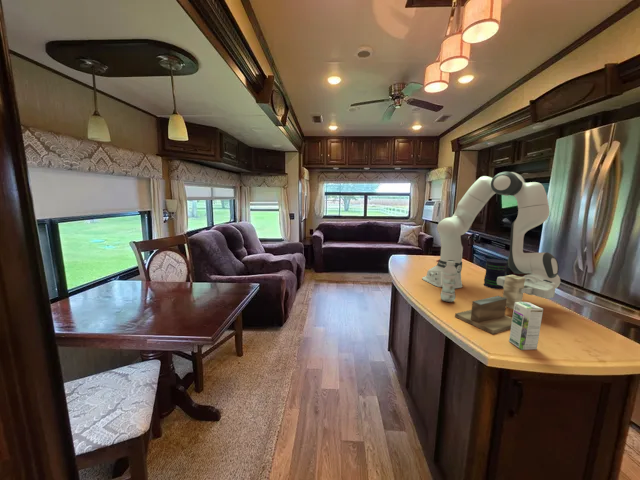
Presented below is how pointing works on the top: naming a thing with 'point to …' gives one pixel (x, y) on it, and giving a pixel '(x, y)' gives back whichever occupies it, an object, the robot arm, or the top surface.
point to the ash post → (513, 289)
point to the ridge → (488, 315)
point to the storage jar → (494, 272)
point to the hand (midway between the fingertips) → (512, 288)
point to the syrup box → (525, 325)
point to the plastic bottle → (449, 282)
